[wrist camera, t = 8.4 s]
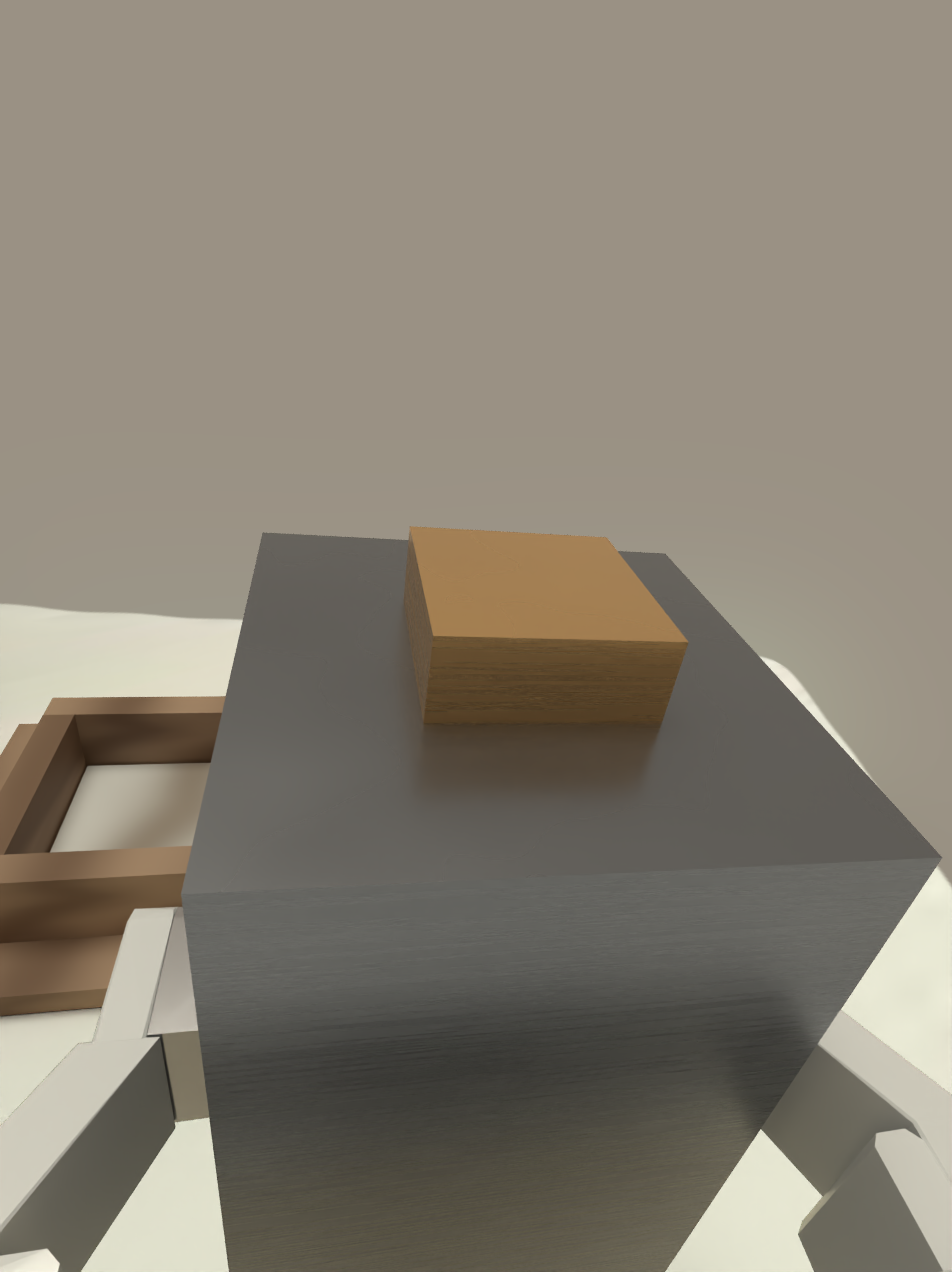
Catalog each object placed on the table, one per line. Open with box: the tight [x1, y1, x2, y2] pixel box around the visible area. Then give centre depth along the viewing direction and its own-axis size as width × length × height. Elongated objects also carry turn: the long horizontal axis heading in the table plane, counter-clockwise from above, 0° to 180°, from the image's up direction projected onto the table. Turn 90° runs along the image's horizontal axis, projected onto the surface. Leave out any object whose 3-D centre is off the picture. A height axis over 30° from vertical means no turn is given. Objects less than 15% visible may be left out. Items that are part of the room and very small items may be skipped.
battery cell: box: [181, 527, 942, 1272], centre depth 9 cm, size 5×5×13 cm
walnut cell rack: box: [0, 696, 226, 1016], centre depth 29 cm, size 24×14×4 cm, turn 100°
